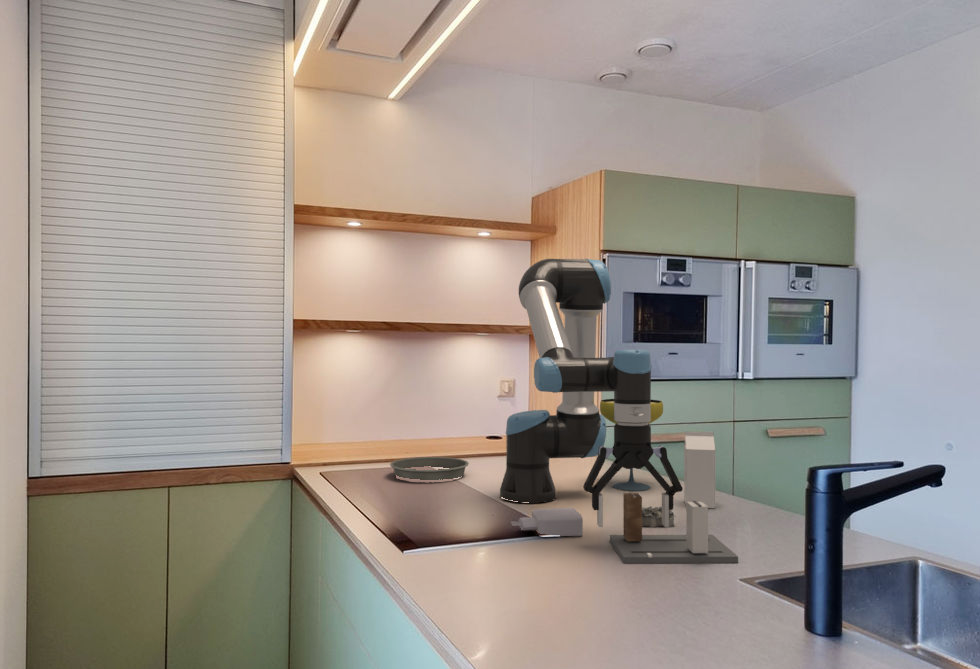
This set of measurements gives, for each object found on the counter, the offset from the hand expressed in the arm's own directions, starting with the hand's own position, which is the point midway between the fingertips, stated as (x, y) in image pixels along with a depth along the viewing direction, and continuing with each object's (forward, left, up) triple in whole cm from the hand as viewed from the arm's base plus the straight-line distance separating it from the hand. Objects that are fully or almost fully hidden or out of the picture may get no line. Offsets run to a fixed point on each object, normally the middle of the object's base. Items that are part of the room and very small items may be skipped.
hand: (632, 525), depth 145 cm
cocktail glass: (+12, +58, -4) cm, 59 cm away
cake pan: (-48, +75, -5) cm, 89 cm away
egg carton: (+8, +18, -5) cm, 20 cm away
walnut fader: (0, 0, -3) cm, 3 cm away
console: (+7, -3, -4) cm, 9 cm away
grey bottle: (-17, +11, -5) cm, 21 cm away
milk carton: (+25, +36, -4) cm, 44 cm away
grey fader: (+11, -8, -3) cm, 14 cm away
